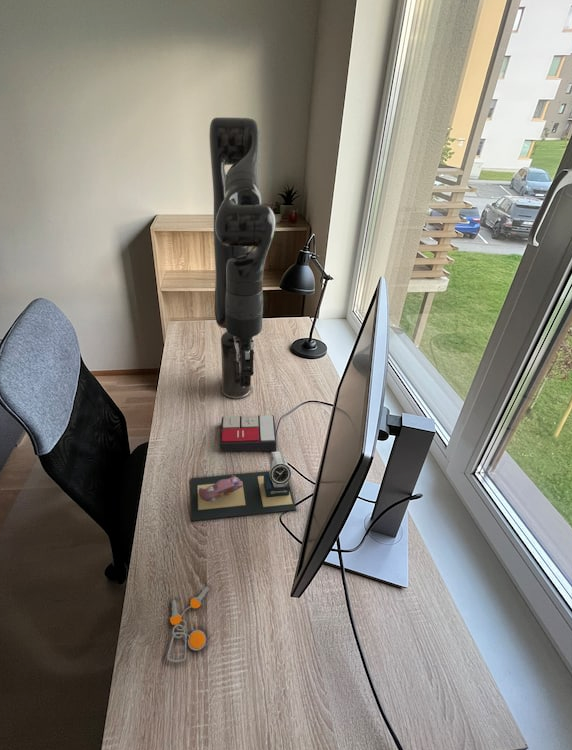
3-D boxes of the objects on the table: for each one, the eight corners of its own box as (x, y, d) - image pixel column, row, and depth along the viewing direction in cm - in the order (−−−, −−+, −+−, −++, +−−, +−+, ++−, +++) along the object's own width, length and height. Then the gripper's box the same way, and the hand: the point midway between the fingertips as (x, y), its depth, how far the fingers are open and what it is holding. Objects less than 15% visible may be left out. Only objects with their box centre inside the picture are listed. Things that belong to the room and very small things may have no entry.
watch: (267, 504, 93) (269, 472, 87) (262, 477, 100) (263, 445, 94) (291, 502, 94) (295, 470, 88) (284, 475, 101) (287, 444, 94)
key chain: (203, 664, 67) (203, 662, 67) (160, 662, 68) (160, 660, 67) (211, 587, 78) (211, 585, 78) (174, 586, 78) (173, 584, 78)
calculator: (221, 414, 115) (273, 412, 114) (222, 425, 117) (273, 423, 117) (219, 441, 106) (276, 440, 105) (220, 453, 108) (276, 451, 108)
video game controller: (203, 509, 94) (207, 502, 88) (196, 490, 96) (199, 482, 90) (241, 493, 98) (247, 486, 92) (233, 476, 99) (239, 467, 94)
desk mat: (191, 479, 100) (191, 477, 100) (285, 470, 103) (285, 469, 102) (191, 521, 90) (191, 519, 90) (296, 510, 93) (296, 508, 92)
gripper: (268, 326, 75) (264, 393, 84) (257, 293, 86) (255, 355, 96) (228, 327, 74) (228, 395, 84) (223, 294, 86) (224, 356, 95)
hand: (243, 373), depth 90 cm, fingers open, 8 cm apart
